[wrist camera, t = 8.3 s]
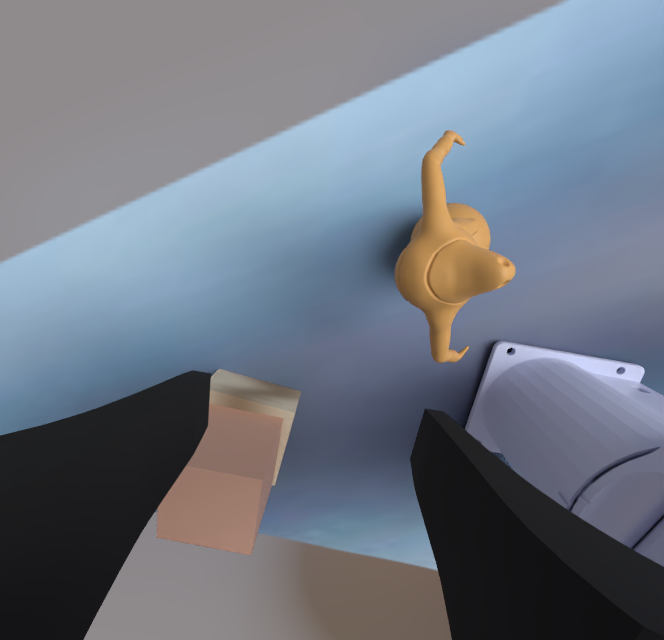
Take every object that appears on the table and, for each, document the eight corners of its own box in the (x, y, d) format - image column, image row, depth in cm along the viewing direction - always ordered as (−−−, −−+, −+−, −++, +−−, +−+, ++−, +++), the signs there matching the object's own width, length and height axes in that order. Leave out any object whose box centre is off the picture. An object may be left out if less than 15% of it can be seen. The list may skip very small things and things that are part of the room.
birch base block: (302, 388, 22) (295, 412, 19) (283, 454, 24) (274, 486, 21) (220, 366, 22) (201, 387, 19) (207, 434, 24) (188, 463, 21)
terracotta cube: (283, 418, 20) (262, 480, 15) (273, 480, 21) (251, 555, 16) (205, 402, 20) (159, 460, 15) (200, 466, 21) (156, 537, 16)
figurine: (473, 304, 19) (652, 416, 8) (377, 315, 20) (415, 435, 9) (471, 159, 17) (720, 22, 6) (363, 176, 18) (388, 84, 6)
